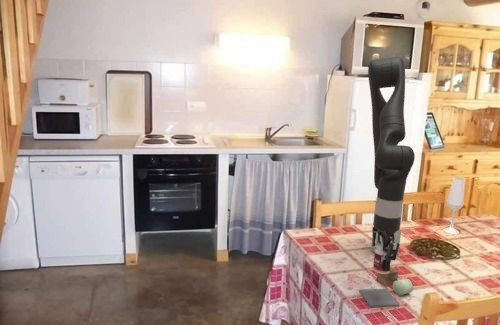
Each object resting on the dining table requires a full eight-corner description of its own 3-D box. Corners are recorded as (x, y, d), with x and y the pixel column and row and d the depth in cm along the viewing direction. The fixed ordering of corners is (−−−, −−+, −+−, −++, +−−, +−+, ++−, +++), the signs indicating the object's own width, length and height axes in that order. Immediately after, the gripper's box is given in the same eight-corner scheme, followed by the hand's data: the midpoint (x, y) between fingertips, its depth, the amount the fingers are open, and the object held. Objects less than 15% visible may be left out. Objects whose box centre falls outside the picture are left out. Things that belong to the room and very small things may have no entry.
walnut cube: (387, 277, 142) (389, 265, 141) (396, 284, 138) (398, 271, 137) (376, 279, 141) (378, 267, 140) (385, 286, 137) (387, 273, 136)
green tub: (391, 289, 134) (400, 286, 136) (401, 298, 130) (410, 295, 132) (394, 277, 132) (404, 275, 134) (404, 286, 129) (414, 284, 130)
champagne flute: (451, 234, 182) (459, 181, 177) (439, 229, 188) (446, 177, 183) (462, 232, 185) (471, 180, 180) (450, 227, 191) (458, 176, 186)
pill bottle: (370, 266, 129) (373, 241, 127) (385, 267, 129) (388, 241, 128) (376, 274, 124) (379, 247, 123) (391, 274, 125) (395, 247, 123)
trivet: (386, 290, 134) (386, 288, 134) (399, 306, 125) (399, 304, 125) (359, 291, 133) (359, 289, 133) (370, 307, 124) (370, 305, 124)
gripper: (412, 221, 116) (404, 278, 120) (389, 204, 130) (383, 256, 134) (385, 221, 116) (379, 278, 119) (366, 204, 129) (361, 256, 133)
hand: (381, 266), depth 127 cm, fingers closed on pill bottle, 4 cm apart
